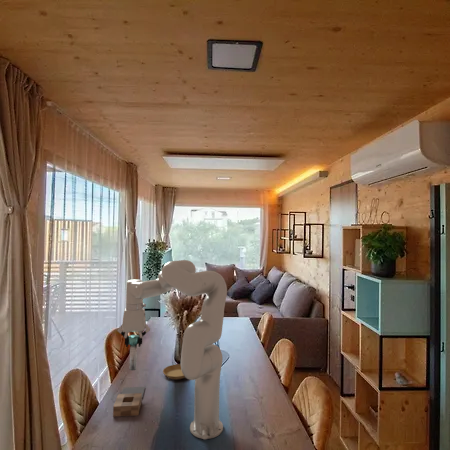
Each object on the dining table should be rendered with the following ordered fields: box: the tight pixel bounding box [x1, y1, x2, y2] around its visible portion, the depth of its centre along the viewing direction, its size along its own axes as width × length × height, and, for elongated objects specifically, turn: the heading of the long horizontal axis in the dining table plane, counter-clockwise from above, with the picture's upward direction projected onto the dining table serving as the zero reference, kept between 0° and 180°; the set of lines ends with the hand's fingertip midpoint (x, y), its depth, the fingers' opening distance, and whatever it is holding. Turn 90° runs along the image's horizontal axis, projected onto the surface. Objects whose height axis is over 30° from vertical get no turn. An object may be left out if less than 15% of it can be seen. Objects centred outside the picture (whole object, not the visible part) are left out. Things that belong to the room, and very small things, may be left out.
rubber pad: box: [120, 386, 146, 399], centre depth 149 cm, size 10×10×1 cm
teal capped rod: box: [128, 334, 139, 371], centre depth 149 cm, size 5×5×15 cm
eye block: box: [112, 393, 143, 417], centre depth 136 cm, size 10×10×4 cm
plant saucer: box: [162, 363, 186, 380], centre depth 169 cm, size 15×15×3 cm
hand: (133, 345), depth 149 cm, fingers closed on teal capped rod, 5 cm apart
